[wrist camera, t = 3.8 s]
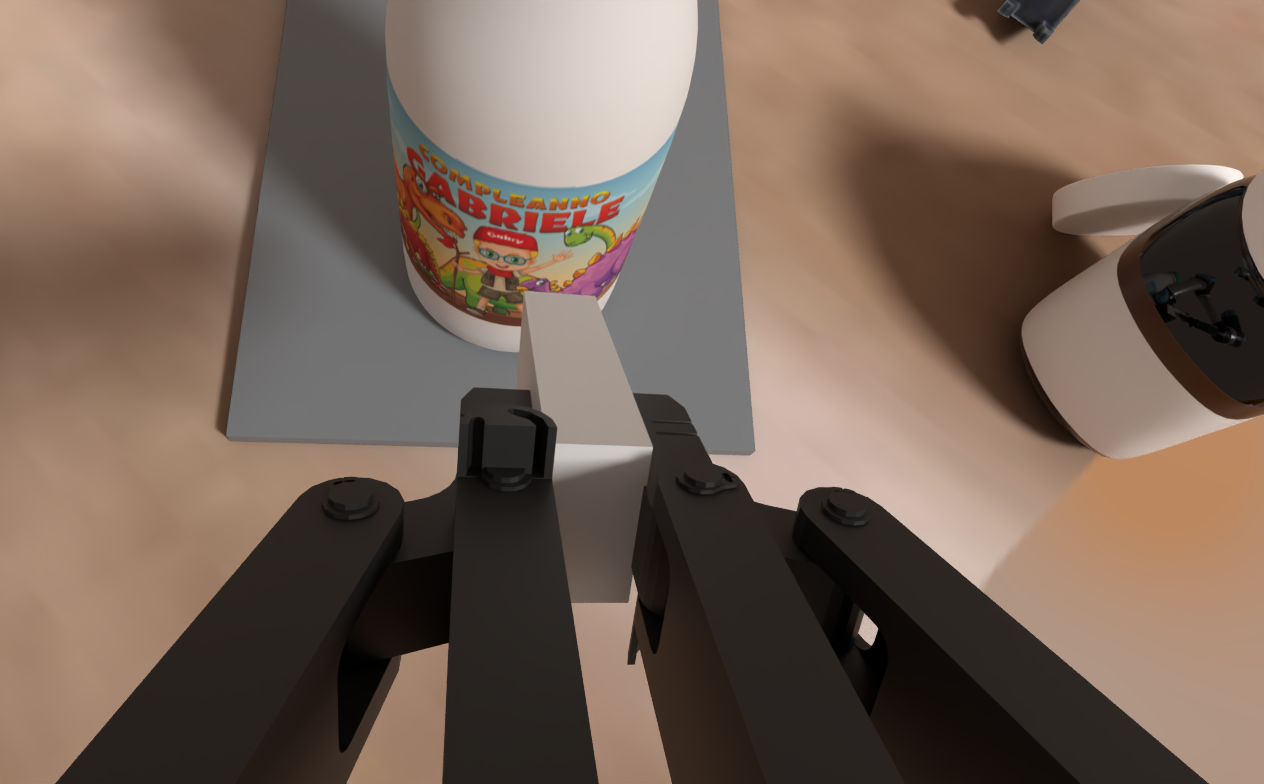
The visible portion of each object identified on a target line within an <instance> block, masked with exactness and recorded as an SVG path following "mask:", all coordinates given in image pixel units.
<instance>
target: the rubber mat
mask: <svg viewBox="0 0 1264 784" xmlns="http://www.w3.org/2000/svg"><path fill="white" fill-rule="evenodd" d="M697 7H698V34H697V46H696V55H695V62H694V67H693V72H692V77H691V82H690V87H689V91H688V94H687V98H686V101H685V104H684V107H683V110H682V113H681V116H680V119H679V122H678V125H677V128H676V131H675V134H674V137H673V140H672V143H671V145H670V148H669V151H668V153H667V156H666V158H665V161H664V164H663V166H662V169H661V171H660V174H659V176H658V179H657V182H656V184H655V187H654V189H653V192H652V195H651V197H650V200H649V202H648V205H647V207H646V210H645V212H644V215H643V217H642V220H641V222H640V225H639V227H638V230H637V232H636V235H635V237H634V240H633V242H632V245H631V247H630V250H629V252H628V255H627V257H626V260H625V262H624V265H623V267H622V269H621V272H620V274H619V277H618V279H617V282H616V284H615V286H614V289H613V291H612V293H611V295H610V297H609V299H608V301H607V303H606V304H605V306H604V308H603V309H602V311H601V312H602V315H603V318H604V320H605V323H606V325H607V328H608V331H609V333H610V336H611V339H612V341H613V344H614V346H615V349H616V352H617V354H618V357H619V359H620V362H621V365H622V367H623V370H624V373H625V375H626V378H627V380H628V383H629V386H630V388H631V391H632V393H643V394H664V395H669V396H670V397H671V398H673V399H674V400H675V401H677V402H678V403H679V404H681V405H682V406H683V407H685V409H686V411H687V413H688V415H689V417H690V419H691V421H692V424H693V425H694V427H695V429H696V431H697V436H699V437H700V439H701V441H702V443H703V445H704V447H705V449H706V451H707V453H708V454H721V455H751V454H752V453H753V452H755V443H754V430H753V418H752V406H751V394H750V382H749V370H748V358H747V346H746V334H745V321H744V309H743V297H742V285H741V273H740V261H739V249H738V237H737V225H736V212H735V200H734V188H733V176H732V164H731V152H730V140H729V128H728V116H727V103H726V91H725V79H724V67H723V55H722V43H721V31H720V19H719V6H718V0H697ZM386 11H387V0H287V7H286V14H285V21H284V29H283V36H282V43H281V50H280V57H279V64H278V71H277V78H276V85H275V92H274V99H273V106H272V113H271V120H270V128H269V135H268V142H267V149H266V156H265V163H264V170H263V177H262V184H261V191H260V198H259V205H258V212H257V219H256V227H255V234H254V241H253V248H252V255H251V262H250V269H249V276H248V283H247V290H246V297H245V304H244V311H243V318H242V326H241V333H240V340H239V347H238V354H237V361H236V368H235V375H234V382H233V389H232V396H231V403H230V410H229V417H228V425H227V432H226V437H227V438H228V439H229V440H230V441H245V442H282V443H318V444H355V445H392V446H428V447H458V444H459V424H460V407H461V399H462V398H463V397H464V396H465V395H466V394H467V393H468V392H469V391H470V390H471V389H472V388H473V387H478V388H499V389H516V385H517V373H518V360H519V352H504V351H496V350H492V349H487V348H484V347H481V346H477V345H475V344H472V343H470V342H467V341H465V340H463V339H461V338H459V337H458V336H456V335H454V334H453V333H451V332H450V331H448V330H447V329H445V328H444V327H443V326H442V325H440V324H439V323H438V322H437V321H436V320H435V319H434V318H433V317H432V316H431V315H430V314H429V313H428V312H427V310H426V309H425V308H424V306H423V305H422V304H421V302H420V301H419V299H418V297H417V296H416V294H415V292H414V290H413V287H412V285H411V283H410V279H409V276H408V272H407V267H406V262H405V256H404V250H403V241H402V232H401V223H400V214H399V204H398V195H397V185H396V175H395V166H394V155H393V143H392V132H391V121H390V110H389V99H388V87H387V67H386V43H385V25H386Z"/></svg>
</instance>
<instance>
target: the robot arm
mask: <svg viewBox="0 0 1264 784" xmlns="http://www.w3.org/2000/svg"><path fill="white" fill-rule="evenodd" d="M632 576H634V580H635V583H636V587H637V591H638V596H637V602H636V608H635V614H634V620H633V626H632V633H631V639H630V645H629V651H628V663H627V665H632V664H635V660H636V654H637V652H638V651H639V650H640V651H641V656H642V660H643V664H644V668H645V672H646V676H647V681H648V685H649V689H650V693H651V697H652V701H653V706H654V710H655V714H656V718H657V722H658V727H659V731H660V735H661V739H662V743H663V747H664V752H665V756H666V760H667V764H668V768H669V772H670V777H671V781H672V784H1208V783H1207V782H1206V781H1205V780H1204V779H1203V778H1201V777H1200V776H1199V775H1198V774H1197V773H1195V772H1194V771H1193V770H1192V769H1190V767H1188V766H1187V765H1186V764H1185V763H1184V762H1182V761H1181V760H1180V759H1179V758H1178V757H1177V756H1175V755H1174V754H1173V753H1172V752H1171V751H1169V750H1168V749H1167V748H1166V747H1165V746H1164V745H1162V744H1161V743H1160V742H1159V741H1158V740H1156V739H1155V738H1154V737H1153V736H1152V735H1151V734H1149V733H1148V732H1147V731H1146V730H1145V729H1143V728H1142V727H1141V726H1140V725H1139V724H1138V723H1136V722H1135V721H1134V720H1133V719H1132V718H1131V717H1129V716H1128V715H1127V714H1126V713H1125V712H1123V711H1122V710H1121V709H1120V708H1119V707H1118V706H1116V705H1115V704H1114V703H1113V702H1112V701H1111V700H1109V699H1108V698H1107V697H1106V696H1105V695H1103V694H1102V693H1101V692H1100V691H1099V690H1098V689H1096V688H1095V687H1094V686H1093V685H1092V684H1090V683H1089V682H1088V681H1087V680H1086V679H1085V678H1083V677H1082V676H1081V675H1080V674H1078V673H1077V672H1076V671H1075V670H1074V669H1073V668H1072V667H1070V666H1069V665H1068V664H1067V663H1065V662H1064V661H1063V660H1062V659H1061V658H1060V657H1059V656H1057V655H1056V654H1055V653H1054V652H1053V651H1051V650H1050V649H1049V648H1048V647H1047V646H1046V645H1044V644H1043V643H1042V642H1041V641H1040V640H1039V639H1037V638H1036V637H1035V636H1034V635H1033V634H1031V633H1030V632H1029V631H1028V630H1027V629H1026V628H1024V627H1023V626H1022V625H1021V624H1020V623H1018V622H1017V621H1016V620H1015V619H1014V618H1013V617H1011V616H1010V615H1009V614H1008V613H1006V612H1005V611H1004V610H1003V609H1002V608H1001V607H999V606H998V605H997V604H996V603H995V602H993V600H991V599H990V598H989V597H988V596H987V595H985V594H984V593H983V592H982V591H981V590H980V589H978V588H977V587H976V586H975V585H974V584H972V583H971V582H970V581H969V580H968V579H967V578H965V577H964V576H963V575H962V574H961V573H959V572H958V571H957V570H956V569H955V568H954V567H952V566H951V565H950V564H949V563H948V562H947V561H945V560H944V559H943V558H942V557H941V556H939V555H938V554H937V553H936V552H935V551H934V550H932V549H931V548H930V547H929V546H928V545H926V544H925V543H924V542H923V541H922V540H921V539H919V538H918V537H917V536H916V535H915V534H913V533H912V532H911V531H910V530H909V529H908V528H906V527H905V526H904V525H903V524H902V523H900V522H899V521H898V520H897V519H896V518H895V517H893V516H892V515H891V514H890V513H889V512H888V511H886V510H885V509H884V508H883V507H882V506H880V505H879V504H877V503H876V502H874V501H873V500H871V499H869V498H868V497H865V496H863V495H860V494H858V493H856V492H855V491H853V490H849V489H845V488H844V489H842V488H839V487H818V488H815V489H811V490H808V491H806V492H805V493H804V494H803V495H802V496H801V497H800V500H799V504H798V508H797V511H792V510H787V509H782V508H778V507H773V506H768V505H764V504H761V503H757V502H754V501H753V499H752V497H751V496H750V494H749V492H748V490H747V488H746V486H745V484H744V483H743V482H742V481H741V480H740V478H739V477H738V476H737V475H736V474H734V473H732V472H731V471H729V470H727V469H725V468H724V467H721V466H718V465H715V464H713V463H712V461H711V459H710V457H709V455H708V453H707V451H706V449H705V447H704V445H703V443H702V441H701V439H700V437H699V436H697V431H696V429H695V427H694V425H693V424H692V421H691V419H690V417H689V415H688V413H687V411H686V409H685V407H683V406H682V405H681V404H679V403H678V402H677V401H675V400H674V399H673V398H671V397H670V396H669V395H664V394H643V393H632V391H631V388H630V386H629V383H628V380H627V378H626V375H625V373H624V370H623V367H622V365H621V362H620V359H619V357H618V354H617V352H616V349H615V346H614V344H613V341H612V339H611V336H610V333H609V331H608V328H607V325H606V323H605V320H604V318H603V315H602V312H601V310H600V307H599V305H598V302H597V299H596V297H595V296H587V295H574V294H560V293H546V292H533V291H524V297H523V310H522V322H521V335H520V347H519V360H518V373H517V385H516V389H499V388H478V387H473V388H472V389H471V390H470V391H469V392H468V393H467V394H466V395H465V396H464V397H463V398H462V399H461V407H460V424H459V444H458V464H457V474H456V478H455V480H454V481H453V482H452V483H451V485H450V486H449V487H447V488H446V489H444V490H443V491H441V492H440V493H437V494H435V495H432V496H430V497H427V498H423V499H419V500H414V501H408V502H404V500H403V498H402V496H401V494H400V492H399V491H398V490H397V489H395V488H394V487H392V486H391V485H389V484H388V483H385V482H382V481H378V480H374V479H371V478H357V477H344V478H337V479H332V480H328V481H326V482H323V483H320V484H318V485H315V486H312V487H311V488H309V489H308V490H307V491H306V492H304V493H303V494H302V495H300V496H299V497H298V498H297V500H296V501H295V502H294V503H293V504H292V506H291V507H290V508H289V509H288V510H287V511H286V513H285V514H284V515H283V516H282V517H281V518H280V520H279V521H278V522H277V523H276V524H275V526H274V527H273V528H272V529H271V530H270V531H269V533H268V534H267V535H266V536H265V537H264V538H263V540H262V541H261V542H260V543H259V544H258V546H257V547H256V548H255V549H254V550H253V551H252V553H251V554H250V555H249V556H248V557H247V559H246V560H245V561H244V562H243V563H242V564H241V566H240V567H239V568H238V569H237V570H236V571H235V573H234V574H233V575H232V576H231V577H230V579H229V580H228V581H227V582H226V583H225V584H224V586H223V587H222V588H221V589H220V590H219V591H218V593H217V594H216V595H215V596H214V597H213V599H212V600H211V601H210V602H209V603H208V604H207V606H206V607H205V608H204V609H203V610H202V611H201V613H200V614H199V615H198V616H197V617H196V619H195V620H194V621H193V622H192V623H191V624H190V626H189V627H188V628H187V629H186V630H185V631H184V633H183V634H182V635H181V636H180V637H179V639H178V640H177V641H176V642H175V643H174V644H173V646H172V647H171V648H170V649H169V650H168V652H167V653H166V654H165V655H164V656H163V657H162V659H161V660H160V661H159V662H158V663H157V664H156V666H155V667H154V668H153V669H152V670H151V672H150V673H149V674H148V675H147V676H146V677H145V679H144V680H143V681H142V682H141V683H140V684H139V686H138V687H137V688H136V689H135V690H134V692H133V693H132V694H131V695H130V696H129V697H128V699H127V700H126V701H125V702H124V703H123V704H122V706H121V707H120V708H119V709H118V710H117V712H116V713H115V714H114V715H113V716H112V717H111V719H110V720H109V721H108V722H107V723H106V724H105V726H104V727H103V728H102V729H101V730H100V732H99V733H98V734H97V735H96V736H95V737H94V739H93V740H92V741H91V742H90V743H89V745H88V746H87V747H86V748H85V749H84V750H83V752H82V753H81V754H80V755H79V756H78V757H77V759H76V760H75V761H74V762H73V763H72V765H71V766H70V767H69V768H68V769H67V770H66V772H65V773H64V774H63V775H62V776H61V777H60V779H59V780H58V781H57V782H56V783H55V784H346V783H347V781H348V778H349V776H350V774H351V772H352V770H353V768H354V766H355V763H356V761H357V759H358V757H359V755H360V753H361V750H362V748H363V746H364V744H365V742H366V740H367V738H368V735H369V733H370V731H371V729H372V727H373V725H374V722H375V720H376V718H377V716H378V714H379V712H380V710H381V707H382V705H383V703H384V701H385V699H386V697H387V694H388V692H389V690H390V688H391V686H392V684H393V682H394V679H395V677H396V675H397V673H398V671H399V666H400V660H401V655H403V654H407V653H411V652H415V651H418V650H422V649H426V648H430V647H434V646H438V645H442V644H446V643H449V649H448V670H447V692H446V713H445V735H444V757H443V778H442V784H599V783H598V776H597V770H596V763H595V757H594V750H593V743H592V737H591V730H590V724H589V717H588V711H587V704H586V698H585V691H584V684H583V678H582V671H581V665H580V658H579V652H578V645H577V639H576V632H575V625H574V619H573V612H572V606H571V603H628V601H629V594H630V588H631V582H632ZM864 613H865V614H866V615H867V616H868V617H869V618H870V619H871V620H872V621H873V623H874V624H875V625H876V626H877V627H878V632H877V635H876V638H875V641H874V643H873V645H872V646H871V645H869V644H868V643H867V642H865V641H864V639H863V638H862V637H861V636H860V635H859V634H858V632H859V629H860V625H861V622H862V619H863V616H864Z"/></svg>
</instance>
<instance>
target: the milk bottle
mask: <svg viewBox="0 0 1264 784" xmlns="http://www.w3.org/2000/svg"><path fill="white" fill-rule="evenodd" d="M697 34H698V7H697V0H387V11H386V25H385V43H386V67H387V87H388V99H389V110H390V121H391V132H392V143H393V155H394V166H395V175H396V185H397V195H398V204H399V214H400V223H401V232H402V241H403V250H404V256H405V262H406V267H407V272H408V276H409V279H410V283H411V285H412V287H413V290H414V292H415V294H416V296H417V297H418V299H419V301H420V302H421V304H422V305H423V306H424V308H425V309H426V310H427V312H428V313H429V314H430V315H431V316H432V317H433V318H434V319H435V320H436V321H437V322H438V323H439V324H440V325H442V326H443V327H444V328H445V329H447V330H448V331H450V332H451V333H453V334H454V335H456V336H458V337H459V338H461V339H463V340H465V341H467V342H470V343H472V344H475V345H477V346H481V347H484V348H487V349H492V350H496V351H504V352H519V347H520V335H521V322H522V310H523V297H524V291H533V292H546V293H560V294H574V295H587V296H595V297H596V299H597V302H598V305H599V307H600V310H601V311H602V309H603V308H604V306H605V304H606V303H607V301H608V299H609V297H610V295H611V293H612V291H613V289H614V286H615V284H616V282H617V279H618V277H619V274H620V272H621V269H622V267H623V265H624V262H625V260H626V257H627V255H628V252H629V250H630V247H631V245H632V242H633V240H634V237H635V235H636V232H637V230H638V227H639V225H640V222H641V220H642V217H643V215H644V212H645V210H646V207H647V205H648V202H649V200H650V197H651V195H652V192H653V189H654V187H655V184H656V182H657V179H658V176H659V174H660V171H661V169H662V166H663V164H664V161H665V158H666V156H667V153H668V151H669V148H670V145H671V143H672V140H673V137H674V134H675V131H676V128H677V125H678V122H679V119H680V116H681V113H682V110H683V107H684V104H685V101H686V98H687V94H688V91H689V87H690V82H691V77H692V72H693V67H694V62H695V55H696V46H697Z"/></svg>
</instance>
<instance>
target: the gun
mask: <svg viewBox="0 0 1264 784" xmlns="http://www.w3.org/2000/svg"><path fill="white" fill-rule="evenodd" d="M1079 1H1080V0H1005V1H1004V3H1003V4H1002V5H1001V7H1000V8H999V9H998V11H997V12H999V13H1000V14H1001V15H1003V16H1005V17H1008V18H1009V17H1010V16H1012V17H1014V18H1015V19H1016V20H1018V21H1019V22H1021V23H1022V24H1023V25H1025V26H1026V27H1027V28H1029V29H1030V30H1032V31H1033V32H1034V34H1033V36H1034V38H1035V39H1036V40H1037V41H1039V42H1040V43H1041V44H1043V43H1044V42H1045V41H1046V40H1047V39H1048V38H1049V37H1050V35H1051V34H1052V33H1053V31H1054V29H1055V28H1056V27H1057V26H1058V25H1059V24H1060V22H1061V21H1062V20H1063V19H1064V18H1065V17H1066V16H1067V15H1068V13H1069V12H1070V11H1071V10H1072V9H1073V8H1074V7H1075V5H1076V4H1077V3H1078V2H1079Z"/></svg>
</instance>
